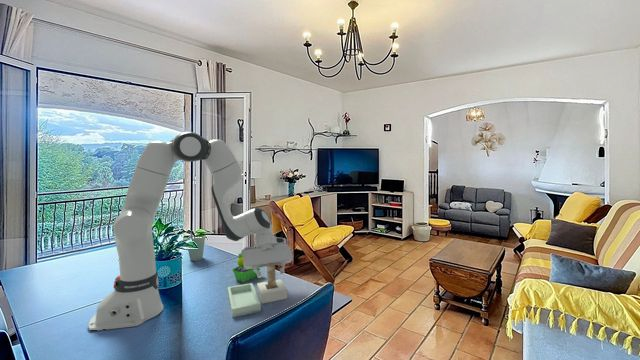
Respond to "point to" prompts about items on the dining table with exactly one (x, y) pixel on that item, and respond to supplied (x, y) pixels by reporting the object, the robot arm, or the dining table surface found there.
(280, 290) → the socket block
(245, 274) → the fruit basket
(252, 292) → the tray
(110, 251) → the dining table surface
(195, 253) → the beige plant pot
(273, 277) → the dowel
